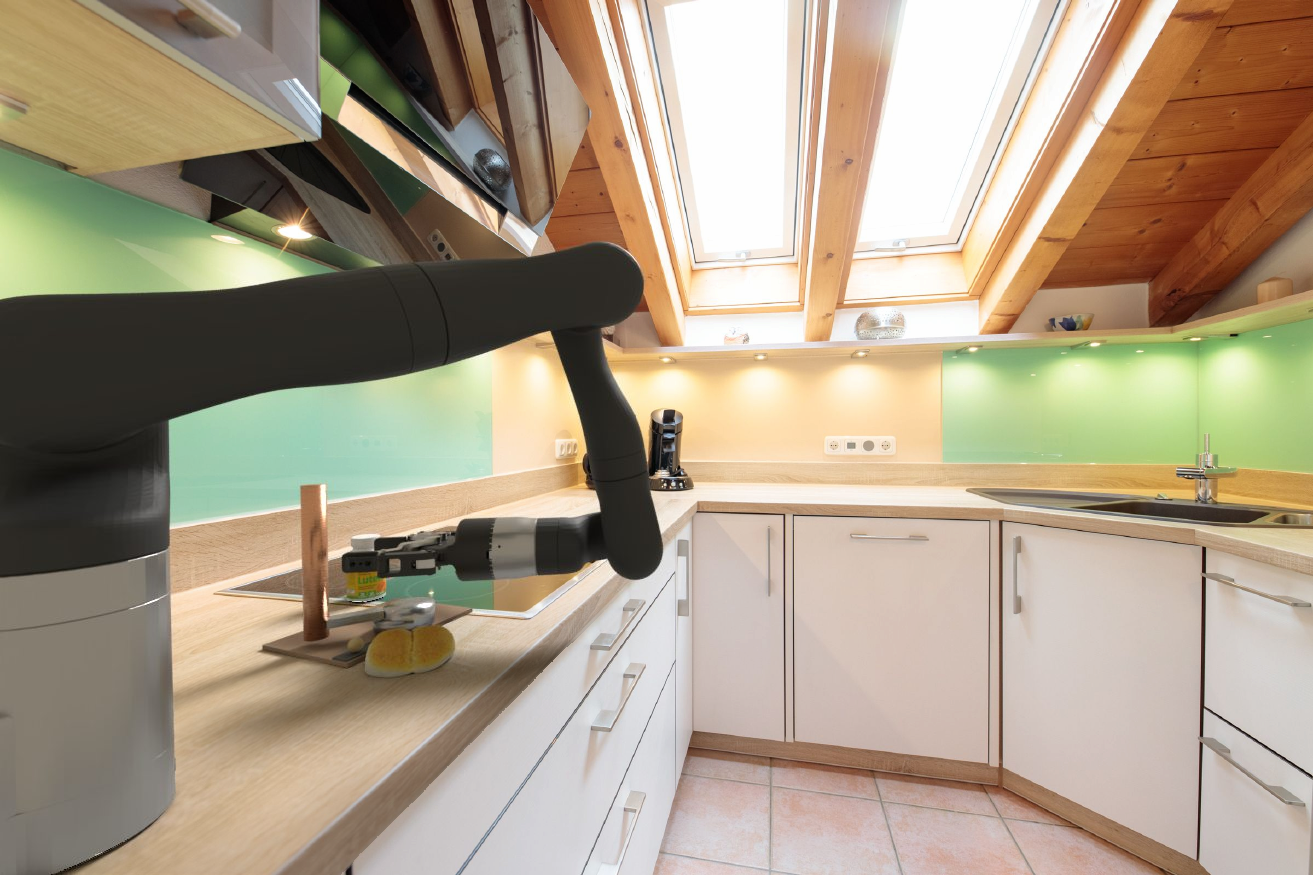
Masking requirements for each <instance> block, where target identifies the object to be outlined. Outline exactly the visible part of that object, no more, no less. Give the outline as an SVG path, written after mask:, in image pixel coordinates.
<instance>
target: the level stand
mask: <svg viewBox="0 0 1313 875" xmlns="http://www.w3.org/2000/svg"><path fill="white" fill-rule="evenodd" d="M401 599H404V598H402V597H396V598H393V599H391V600H386V601H384V602H382V603H381V602H380V603H378V604H376V605H373V606H370V607H367V608H365V609H363V610H367V609H373V608H379V607H384V606H385V605H387V604H388V603H391V602H393V601H397V600H401ZM470 612H471V613H473V608H472V607H468V606H459V605H453V604H452V605H451V604H445V603H438V602H435V621H434V622H433V623H432V624H430V625H428V626H433V625H440V626H444V625H446V624H448V623H451V622H453V621H455V620H457V619H459V618H461V617H464V616H466V615H468V614H470ZM378 634H379V633H376V632H374V631H373V621H369V622H364V623H358V624H353V625H347V626H342V627H337V628H331V629H330V636H329V637H327V638H325V639H322V640H318V641H312V642H306V641H304V639H303V630H302V631H299V632H296V633H293V634H290V635H288V636H287V635H286V636H285V637H282V638H279V639H275V640H273V641H271V642H268V643H264V644H261V648H262V650H264V651H268V652H273V653H277V654H282V655H286V656H291V657H295V658H300V659H305V660H310V661H314V662H318V663H322V664H328V665H332V666H337V667H341V668H344V669H345V668H346V669H348V668H350V667H353V666H355V665H356V664H357V665H358V664H360V663H361V662H362V663H363V661H364V662H365V658H366V653H367V651H368V647H369V645H370V644H371V643H372V641H373V640H374V638H375V637H376V636H377V635H378Z"/></svg>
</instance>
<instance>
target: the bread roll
mask: <svg viewBox="0 0 1313 875" xmlns="http://www.w3.org/2000/svg"><path fill="white" fill-rule="evenodd" d="M455 651H456V640H455V637H454V635H453V633H452V632H451V631H450V630H449V629H448V628H447V627H445V626H444V625H442V626H440V625H433V626H423V627H418V628H416V629H413V630H412V631H408V630H405V629H400V628H397V629H389V630H386V631H383V632H381V633H379V634H378V635H377V636H376V637H375V638H374V640H373V641H372V643H371V644H370V645H369V647H368V651H367V653H366V658H365V660H364V671H365V673H366V674H367V675H369V676H371V677H379V678H395V677H396V678H397V677H402V676H406V675H407V676H408V675H409V674H411V673H414V674H419V673H420V674H421V673H425V672H429V671H433V670H435V669H437V668H439V667H441V666H442V665H443V664H445V663H446V662H447V661H448V660H450V658H452V657H453V656H454V654H455Z"/></svg>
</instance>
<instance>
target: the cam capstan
mask: <svg viewBox="0 0 1313 875" xmlns="http://www.w3.org/2000/svg"><path fill="white" fill-rule="evenodd" d="M327 485H328V484H326V483H318V484H317V483H313V484H301V485H300V486H299V491H300V492H299V494H300V495H299V496H300V535H301V536H300V538H301V542H300V543H301V545H300V546H301V586H302V628H303V630H302V631H303V639H304V641H306V642H312V641H318V640H322V639H325V638H327V637H329V636H330V629H331V628H337V627H342V626H347V625H353V624H358V623H364V622H369V621H373V631H374V632H376V633H381V632H383V631H386V630H389V629H397V628H400V629H405V630H408V631H412V630H413V629H416V628H418V627H423V626H428V625H430V624H432V623H433V622H434V621H435V603H436V599H434V598H432V597H428V596H415V597H414V596H413V597H407V598H403V599H401V600H397V601H393V602H391V603H388V604H387V605H385V606H384V607H379V608H373V609H367V608H366V609H367V610H364V609H361V610H357V611H350V612H345V613H339V614H332V615H330V585H329V582H330V581H329V580H330V578H329V538H328V535H329V534H328V532H329V531H328V529H329V528H328V496H327V495H328V490H327V488H328V487H327Z"/></svg>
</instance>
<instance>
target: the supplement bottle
mask: <svg viewBox="0 0 1313 875" xmlns="http://www.w3.org/2000/svg"><path fill="white" fill-rule="evenodd" d="M379 537H381V535H380V534H379V533H365V534H358V535H353V536H352V537H350V547H351V548H352V550H350V551H349V552H357V551H374V541H375V539H377V538H379ZM345 575H346V578H345V579H346V583H345V584H346V600H347V601H348V602H349V601H368V600H375V599H378V600H380V599H379V598H381V599H383V598H384V597H385V596H386V595H387V578H377V572H359V573H345ZM382 597H383V598H382ZM375 601H376V600H375Z"/></svg>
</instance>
